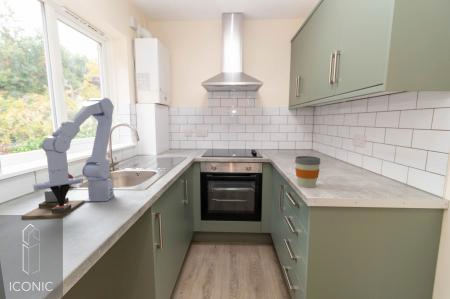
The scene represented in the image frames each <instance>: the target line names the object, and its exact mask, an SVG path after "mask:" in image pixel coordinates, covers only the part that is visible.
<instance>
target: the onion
mask: <svg viewBox="0 0 450 299" xmlns="http://www.w3.org/2000/svg"><path fill="white" fill-rule="evenodd" d="M68 177H69V179H70V178H75V177H74V176H73V175H72V174H70V173H69V172H68ZM72 185H73V184H71V185H69V187H71V186H72Z"/></svg>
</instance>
